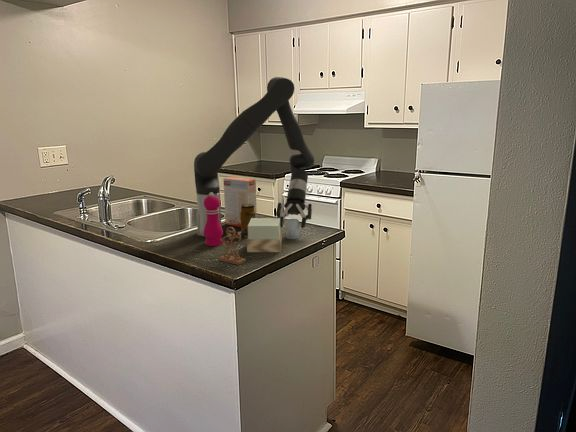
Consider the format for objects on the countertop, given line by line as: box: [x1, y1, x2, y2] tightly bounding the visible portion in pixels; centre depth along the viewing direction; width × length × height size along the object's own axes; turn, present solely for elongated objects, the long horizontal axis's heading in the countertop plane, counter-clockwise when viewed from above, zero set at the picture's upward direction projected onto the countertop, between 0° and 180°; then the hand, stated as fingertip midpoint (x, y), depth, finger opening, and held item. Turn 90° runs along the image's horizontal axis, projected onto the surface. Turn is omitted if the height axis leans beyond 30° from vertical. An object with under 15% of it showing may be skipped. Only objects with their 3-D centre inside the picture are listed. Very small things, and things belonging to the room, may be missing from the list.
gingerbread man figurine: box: [218, 226, 247, 266], centre depth 147 cm, size 9×4×12 cm, turn 58°
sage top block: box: [247, 217, 281, 239], centre depth 161 cm, size 11×11×5 cm
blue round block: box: [285, 218, 300, 240], centre depth 173 cm, size 5×5×7 cm
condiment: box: [236, 204, 256, 238], centre depth 178 cm, size 7×8×12 cm
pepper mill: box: [203, 192, 224, 247], centre depth 164 cm, size 7×7×20 cm
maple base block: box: [246, 229, 283, 253], centre depth 162 cm, size 12×12×5 cm
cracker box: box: [223, 176, 258, 228], centre depth 189 cm, size 14×6×21 cm, turn 53°
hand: (291, 227), depth 171 cm, fingers open, 8 cm apart
